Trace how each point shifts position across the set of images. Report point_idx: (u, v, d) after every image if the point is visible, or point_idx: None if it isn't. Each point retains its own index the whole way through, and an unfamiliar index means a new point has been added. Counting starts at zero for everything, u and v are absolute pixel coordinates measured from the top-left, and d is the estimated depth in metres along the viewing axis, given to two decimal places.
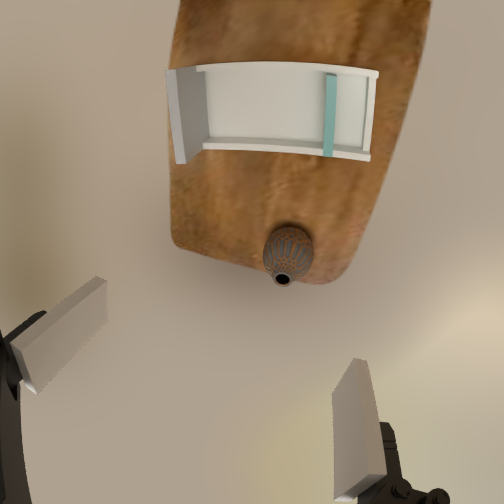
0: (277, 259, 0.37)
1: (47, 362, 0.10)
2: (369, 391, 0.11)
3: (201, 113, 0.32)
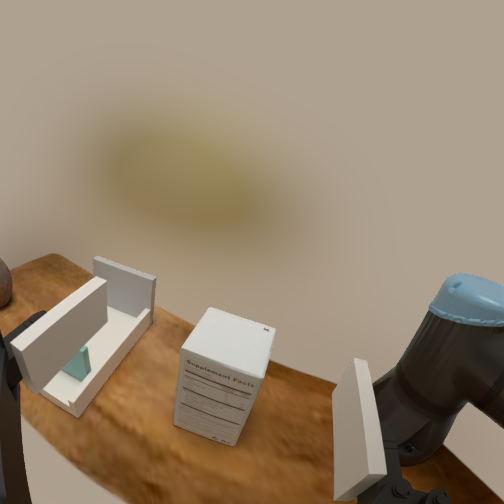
0: (0, 263, 0.31)
1: (47, 362, 0.10)
2: (369, 391, 0.11)
3: (116, 299, 0.41)
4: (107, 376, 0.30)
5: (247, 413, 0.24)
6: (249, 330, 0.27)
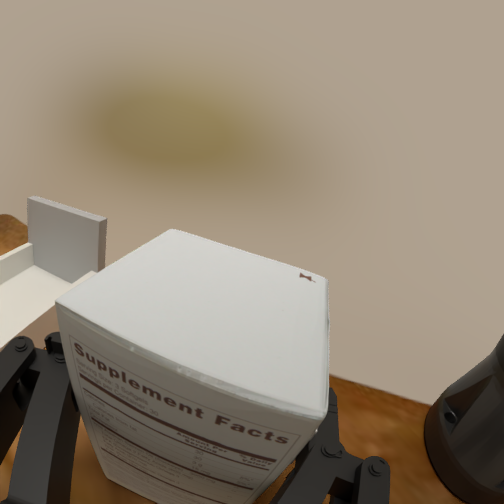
0: None
1: None
2: None
3: (54, 258, 0.25)
4: None
5: (259, 493, 0.07)
6: (263, 274, 0.10)
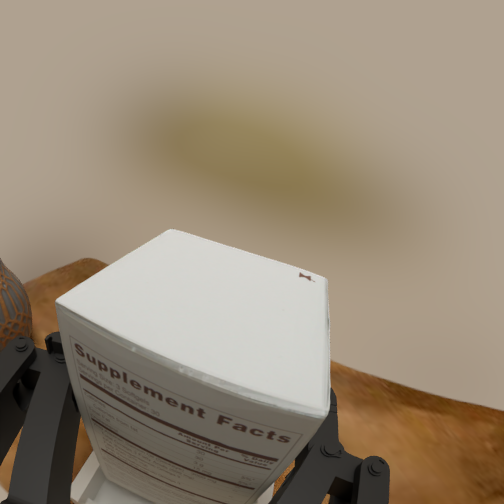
0: (9, 280, 0.17)
1: None
2: None
3: None
4: None
5: (260, 493, 0.07)
6: (263, 274, 0.10)
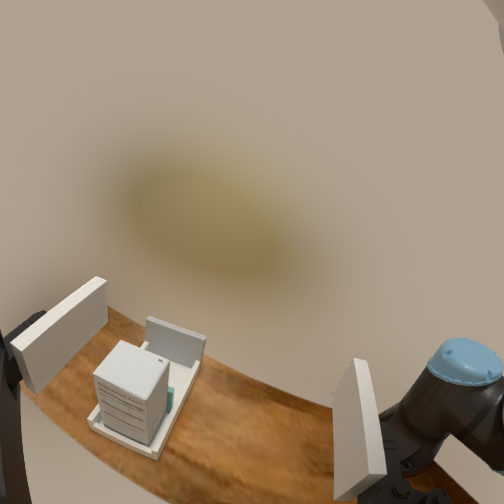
0: None
1: (47, 362, 0.10)
2: (369, 391, 0.11)
3: (167, 351, 0.48)
4: (174, 423, 0.37)
5: (146, 423, 0.29)
6: (145, 360, 0.32)
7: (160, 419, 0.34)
